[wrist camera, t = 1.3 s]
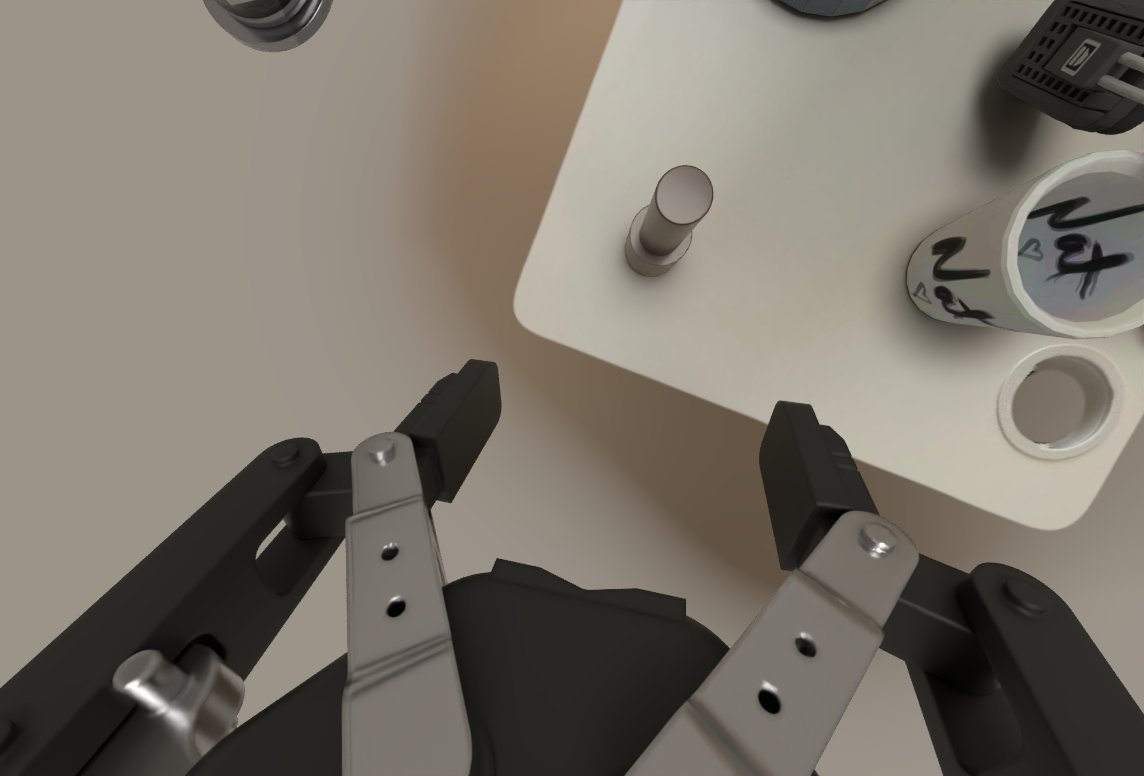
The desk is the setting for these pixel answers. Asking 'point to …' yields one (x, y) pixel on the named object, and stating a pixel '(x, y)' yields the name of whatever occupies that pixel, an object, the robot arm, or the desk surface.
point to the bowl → (831, 6)
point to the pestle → (668, 220)
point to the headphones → (1083, 65)
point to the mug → (1044, 254)
